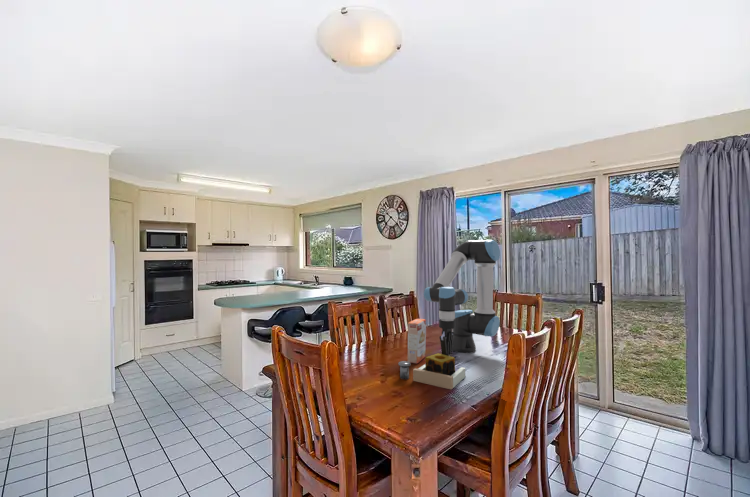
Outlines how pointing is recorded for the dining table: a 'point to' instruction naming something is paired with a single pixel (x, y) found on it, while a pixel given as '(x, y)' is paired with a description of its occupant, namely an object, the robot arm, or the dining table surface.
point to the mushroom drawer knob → (404, 369)
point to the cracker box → (416, 340)
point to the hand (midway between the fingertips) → (446, 368)
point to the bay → (438, 377)
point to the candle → (440, 364)
